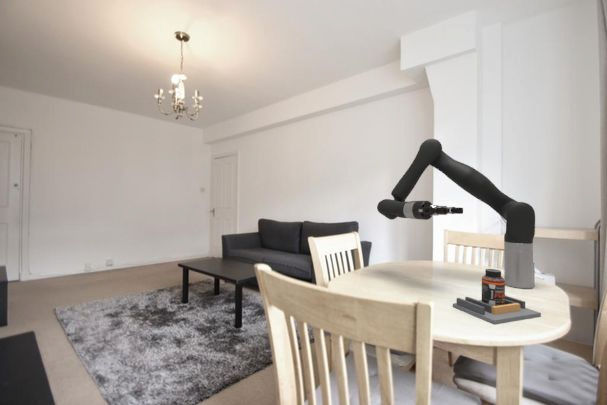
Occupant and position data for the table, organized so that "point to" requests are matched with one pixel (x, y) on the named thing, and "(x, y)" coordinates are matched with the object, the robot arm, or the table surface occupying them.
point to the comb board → (496, 310)
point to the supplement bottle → (493, 288)
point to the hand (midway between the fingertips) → (455, 210)
